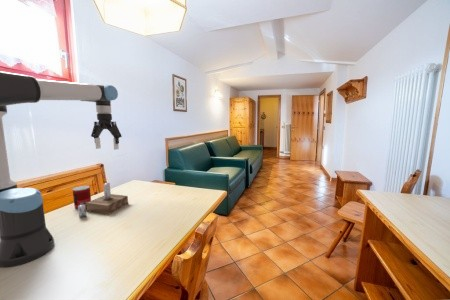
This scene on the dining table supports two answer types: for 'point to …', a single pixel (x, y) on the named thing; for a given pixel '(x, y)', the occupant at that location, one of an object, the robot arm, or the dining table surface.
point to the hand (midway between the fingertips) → (107, 148)
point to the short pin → (82, 211)
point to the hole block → (107, 204)
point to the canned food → (81, 195)
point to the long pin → (107, 191)
